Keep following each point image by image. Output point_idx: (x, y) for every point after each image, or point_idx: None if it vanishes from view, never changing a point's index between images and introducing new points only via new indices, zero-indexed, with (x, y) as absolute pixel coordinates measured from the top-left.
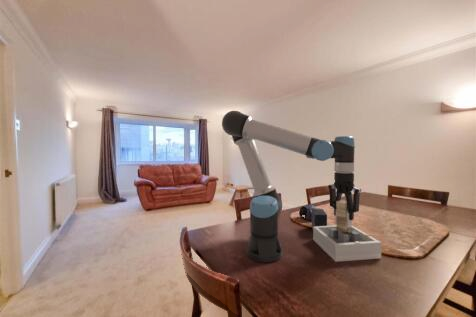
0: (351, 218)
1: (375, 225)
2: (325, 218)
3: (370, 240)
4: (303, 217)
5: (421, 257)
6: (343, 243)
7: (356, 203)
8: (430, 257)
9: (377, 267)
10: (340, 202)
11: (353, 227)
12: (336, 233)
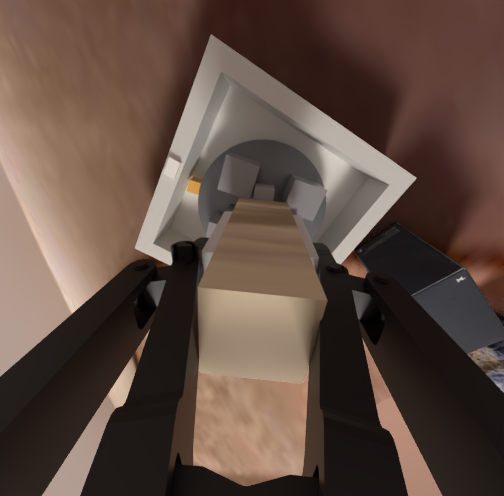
0: (196, 242)
1: (272, 397)
2: None
3: None
4: (500, 318)
5: None
6: (202, 102)
7: (69, 325)
8: None
9: (134, 161)
10: (263, 292)
11: None
12: (286, 195)
